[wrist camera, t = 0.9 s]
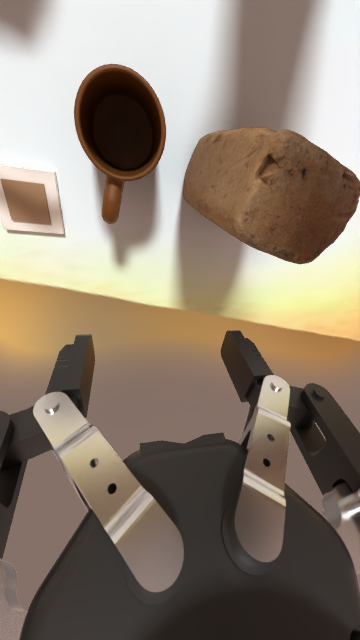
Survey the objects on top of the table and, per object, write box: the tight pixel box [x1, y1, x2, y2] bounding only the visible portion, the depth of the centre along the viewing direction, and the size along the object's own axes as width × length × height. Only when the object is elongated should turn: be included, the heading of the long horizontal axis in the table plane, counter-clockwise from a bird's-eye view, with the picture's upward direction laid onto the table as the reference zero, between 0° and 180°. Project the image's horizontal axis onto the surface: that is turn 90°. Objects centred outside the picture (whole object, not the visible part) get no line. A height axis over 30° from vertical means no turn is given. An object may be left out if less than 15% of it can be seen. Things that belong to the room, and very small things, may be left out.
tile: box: [0, 165, 65, 234], centre depth 28 cm, size 7×7×1 cm
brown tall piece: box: [184, 127, 360, 264], centre depth 23 cm, size 11×8×20 cm
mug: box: [74, 64, 166, 224], centre depth 23 cm, size 12×8×9 cm, turn 161°
